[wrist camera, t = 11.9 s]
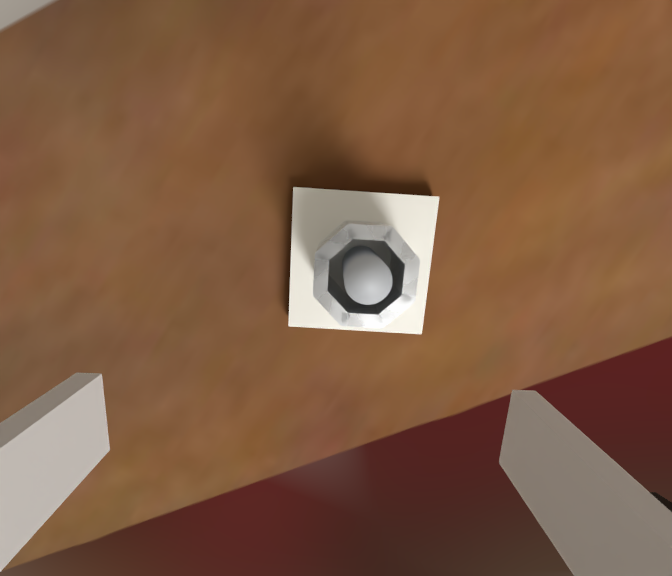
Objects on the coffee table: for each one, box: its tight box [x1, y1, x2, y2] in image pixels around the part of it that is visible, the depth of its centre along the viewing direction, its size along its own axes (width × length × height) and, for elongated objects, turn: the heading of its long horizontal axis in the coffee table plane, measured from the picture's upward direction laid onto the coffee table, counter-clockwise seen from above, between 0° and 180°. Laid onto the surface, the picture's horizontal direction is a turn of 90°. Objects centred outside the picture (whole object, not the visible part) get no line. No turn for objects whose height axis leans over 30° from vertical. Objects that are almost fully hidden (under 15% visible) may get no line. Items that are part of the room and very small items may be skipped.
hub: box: [313, 220, 420, 328], centre depth 27 cm, size 7×7×6 cm
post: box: [288, 187, 439, 334], centre depth 27 cm, size 12×12×8 cm
